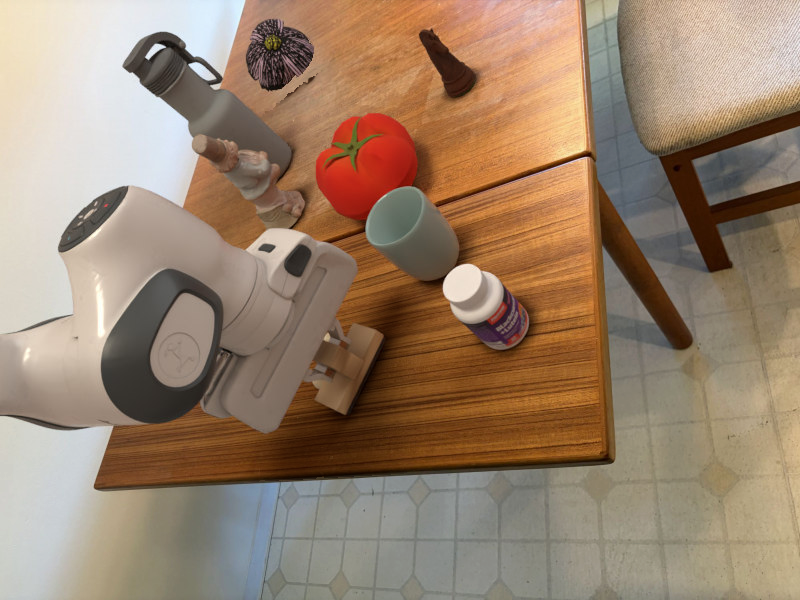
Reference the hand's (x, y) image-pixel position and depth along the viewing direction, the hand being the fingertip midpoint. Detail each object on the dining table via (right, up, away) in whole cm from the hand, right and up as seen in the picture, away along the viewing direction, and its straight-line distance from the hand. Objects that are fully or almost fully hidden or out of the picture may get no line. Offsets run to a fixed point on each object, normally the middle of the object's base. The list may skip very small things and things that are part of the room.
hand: (337, 360), depth 63 cm
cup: (+12, +11, +4) cm, 17 cm away
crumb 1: (-2, -2, +4) cm, 5 cm away
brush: (+2, -2, +3) cm, 4 cm away
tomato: (+5, +23, +17) cm, 29 cm away
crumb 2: (-1, +1, +6) cm, 6 cm away
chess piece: (+16, +38, +18) cm, 45 cm away
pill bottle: (+18, +4, -5) cm, 19 cm away
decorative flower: (-13, +52, +50) cm, 74 cm away
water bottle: (-16, +31, +38) cm, 51 cm away
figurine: (-11, +21, +28) cm, 37 cm away
